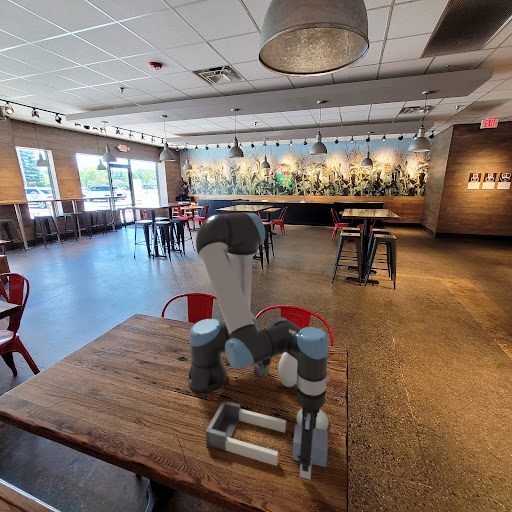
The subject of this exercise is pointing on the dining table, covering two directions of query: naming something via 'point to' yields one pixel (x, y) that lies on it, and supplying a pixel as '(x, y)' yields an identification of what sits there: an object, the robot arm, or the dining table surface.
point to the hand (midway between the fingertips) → (308, 452)
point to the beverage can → (262, 368)
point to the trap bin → (222, 425)
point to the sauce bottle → (287, 370)
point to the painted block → (317, 445)
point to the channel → (255, 450)
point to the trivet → (321, 420)
